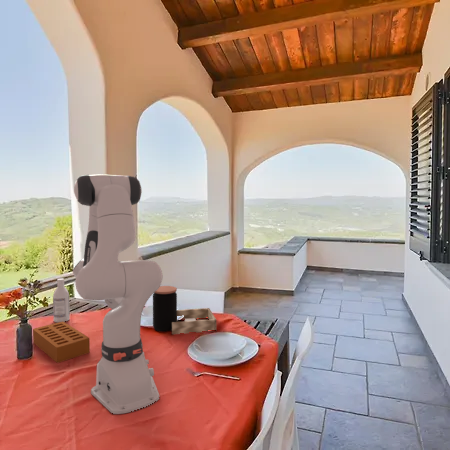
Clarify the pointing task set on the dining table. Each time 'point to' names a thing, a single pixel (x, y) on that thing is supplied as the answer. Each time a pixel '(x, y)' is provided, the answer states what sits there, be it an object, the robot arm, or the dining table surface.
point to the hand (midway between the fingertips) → (129, 310)
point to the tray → (194, 325)
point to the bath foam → (61, 302)
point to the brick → (61, 341)
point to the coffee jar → (164, 308)
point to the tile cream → (190, 319)
